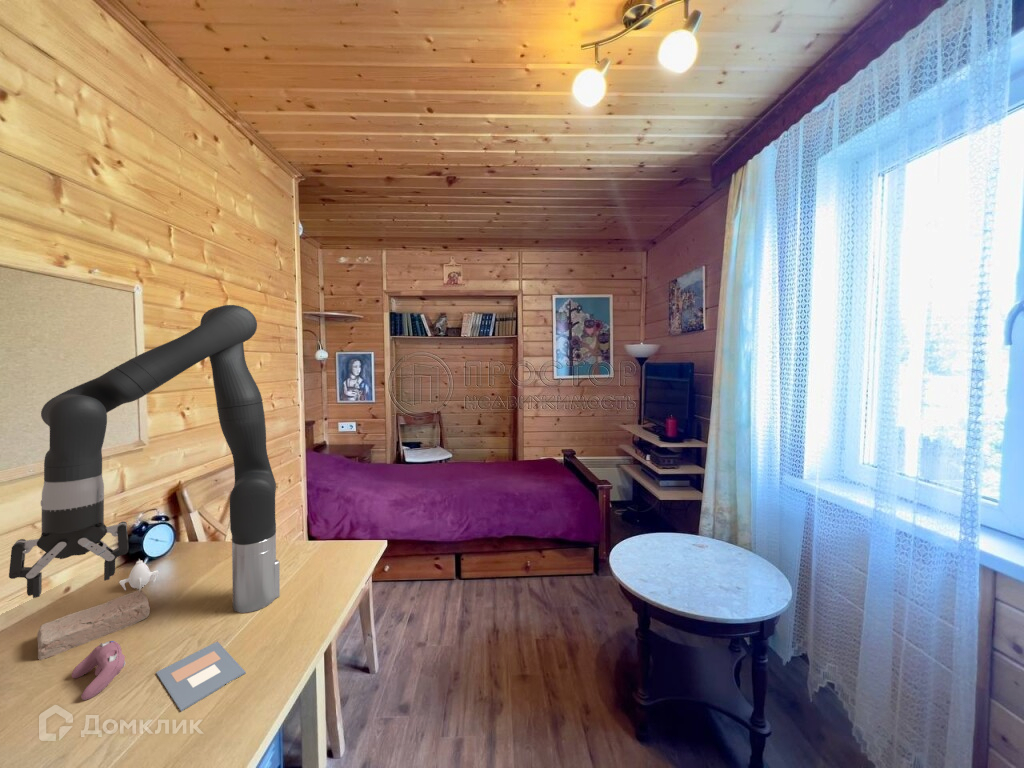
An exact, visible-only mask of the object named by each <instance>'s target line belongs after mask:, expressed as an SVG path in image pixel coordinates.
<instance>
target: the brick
mask: <svg viewBox="0 0 1024 768" xmlns="http://www.w3.org/2000/svg"><path fill="white" fill-rule="evenodd" d="M150 611H151V607H150V603H149V598H148V597H147V595H146V594H145V592H144V591H143V590H142V589H140V590H139V589H138V590H136V591H132V592H130V593H127V594H124V595H121V596H118V597H116V598H113V599H111V600H108V601H106V602H104V603H101V604H98V605H95V606H92V607H89V608H86V609H83V610H78V611H76V612H74V613H73V612H72V613H69V614H67V615H64V616H62V617H59V618H56V619H54V620H51V621H48V622H45V623H43V624H42V625H40V627H39V629H38V631H37V634H36V636H37V637H36V640H37V659H39V661H43V660H46V659H48V658H51V657H54V656H56V655H59V654H62V653H64V652H66V651H68V650H71V649H74V648H75V647H80V646H82V645H85V644H87V643H89V642H92V641H94V640H97V639H100V638H102V637H105V636H108V635H110V634H113V633H115V632H118V631H122V630H124V629H126V628H128V627H130V626H133V625H135V624H138V623H139V622H141V621H144V620H146V619H147V618H148V617H149V615H150ZM45 658H46V659H45ZM42 659H43V660H42Z"/></svg>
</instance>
